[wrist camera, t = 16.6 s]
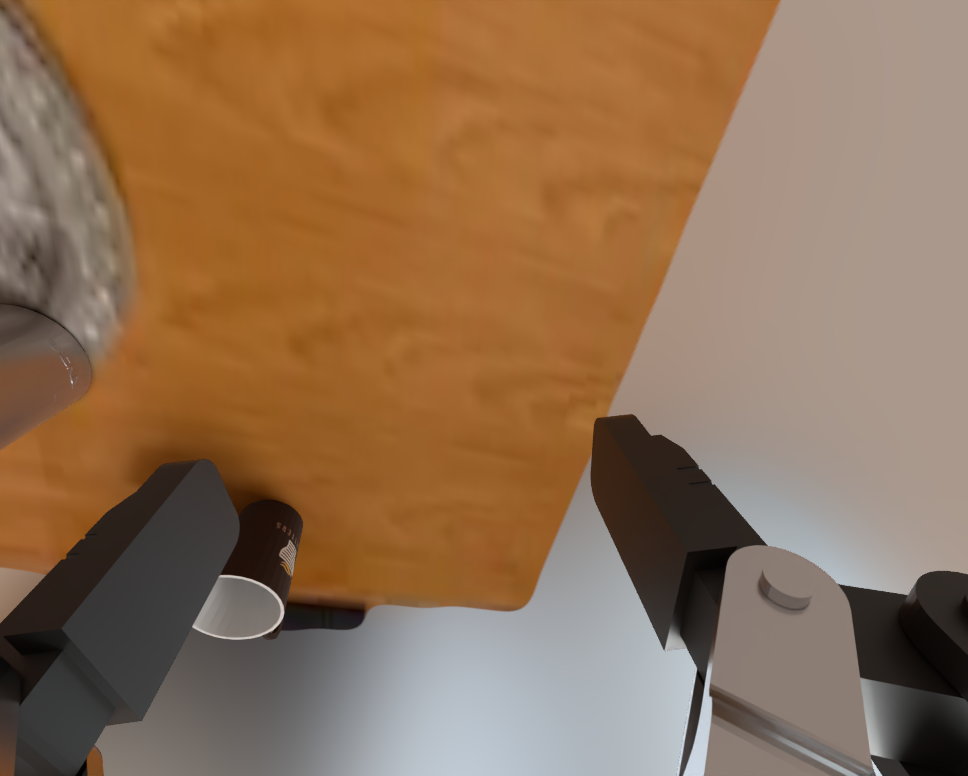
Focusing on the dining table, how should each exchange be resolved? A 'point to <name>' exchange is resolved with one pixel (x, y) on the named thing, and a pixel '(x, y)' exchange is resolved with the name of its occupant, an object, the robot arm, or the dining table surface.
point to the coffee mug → (255, 575)
